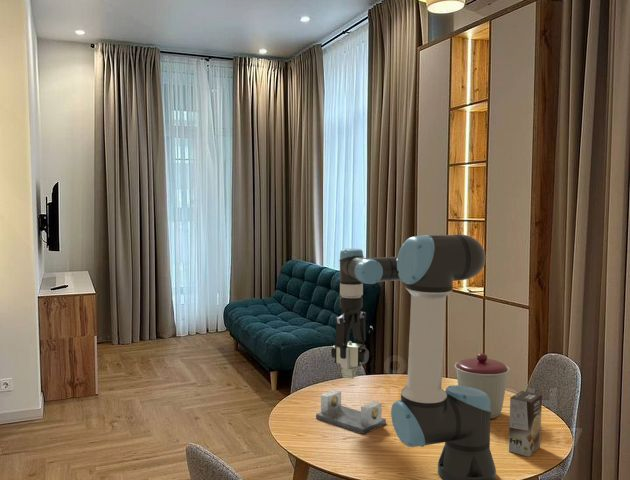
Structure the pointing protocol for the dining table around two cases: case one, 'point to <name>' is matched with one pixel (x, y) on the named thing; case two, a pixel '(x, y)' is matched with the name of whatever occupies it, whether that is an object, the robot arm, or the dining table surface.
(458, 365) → the canister
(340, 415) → the fittings plate
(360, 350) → the pneumatic valve
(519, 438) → the coffee box
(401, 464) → the dining table surface
